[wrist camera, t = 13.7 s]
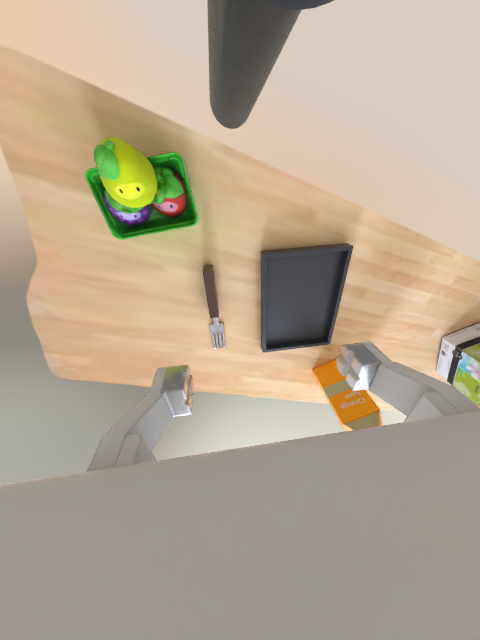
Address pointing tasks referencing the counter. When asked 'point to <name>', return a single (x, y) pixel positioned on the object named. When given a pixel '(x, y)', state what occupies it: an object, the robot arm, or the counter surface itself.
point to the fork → (213, 306)
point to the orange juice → (347, 399)
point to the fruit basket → (140, 190)
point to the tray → (301, 295)
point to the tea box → (462, 361)
